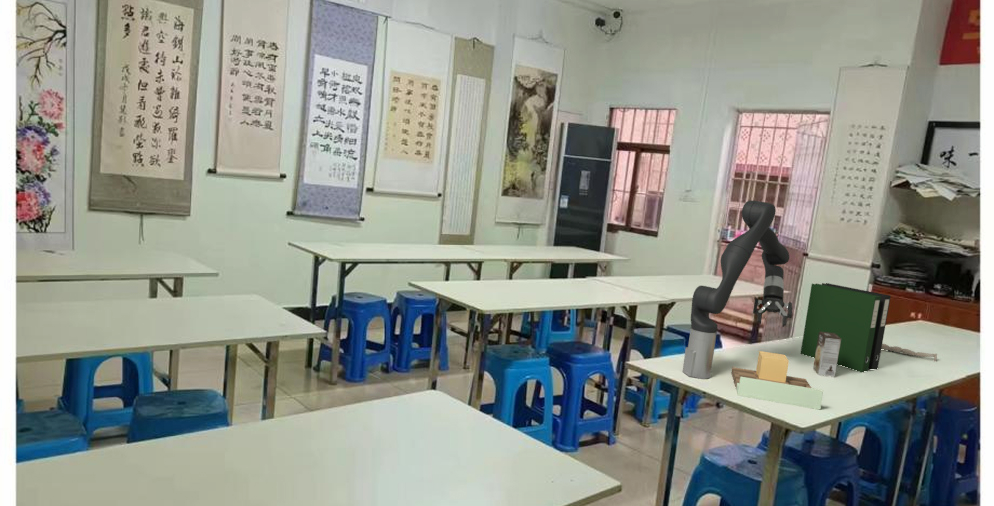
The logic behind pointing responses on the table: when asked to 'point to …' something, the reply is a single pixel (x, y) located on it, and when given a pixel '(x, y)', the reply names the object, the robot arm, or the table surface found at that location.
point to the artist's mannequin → (908, 351)
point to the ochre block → (772, 366)
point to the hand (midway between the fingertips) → (771, 324)
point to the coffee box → (827, 354)
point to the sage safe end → (779, 392)
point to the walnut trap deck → (753, 374)
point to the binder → (847, 323)
